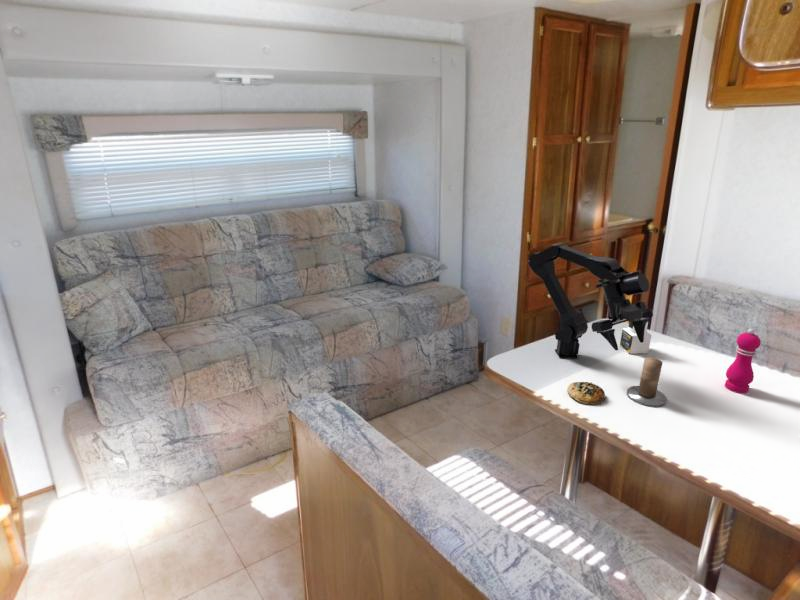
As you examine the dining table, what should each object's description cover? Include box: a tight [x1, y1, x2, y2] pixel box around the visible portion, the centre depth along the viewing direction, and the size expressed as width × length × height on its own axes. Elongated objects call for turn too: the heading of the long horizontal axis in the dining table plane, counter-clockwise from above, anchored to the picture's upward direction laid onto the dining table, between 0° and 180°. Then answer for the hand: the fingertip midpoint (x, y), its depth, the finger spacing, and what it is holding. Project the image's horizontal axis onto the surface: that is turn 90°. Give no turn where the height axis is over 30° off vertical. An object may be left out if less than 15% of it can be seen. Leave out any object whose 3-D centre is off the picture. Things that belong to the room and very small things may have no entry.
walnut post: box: [638, 357, 663, 399], centre depth 156 cm, size 5×5×11 cm
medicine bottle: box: [619, 321, 652, 355], centre depth 188 cm, size 7×7×12 cm
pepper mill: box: [724, 328, 761, 394], centre depth 161 cm, size 7×7×20 cm
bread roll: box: [566, 381, 606, 405], centre depth 158 cm, size 11×11×5 cm
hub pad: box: [626, 385, 668, 408], centre depth 158 cm, size 11×11×1 cm
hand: (629, 346), depth 166 cm, fingers open, 9 cm apart
